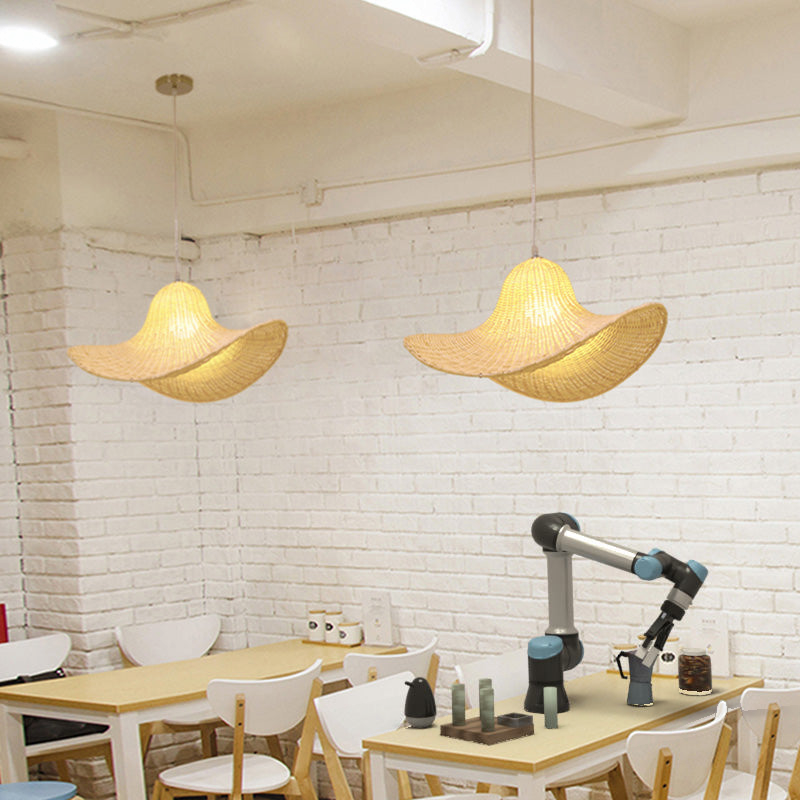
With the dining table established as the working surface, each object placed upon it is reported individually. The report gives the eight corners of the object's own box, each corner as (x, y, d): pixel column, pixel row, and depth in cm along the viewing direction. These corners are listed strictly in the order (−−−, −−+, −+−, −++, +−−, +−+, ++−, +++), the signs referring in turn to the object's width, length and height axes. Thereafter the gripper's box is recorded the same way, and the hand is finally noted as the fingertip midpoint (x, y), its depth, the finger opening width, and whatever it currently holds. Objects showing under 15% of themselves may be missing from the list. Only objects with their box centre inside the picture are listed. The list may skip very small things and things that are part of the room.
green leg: (542, 726, 363) (541, 687, 364) (552, 725, 365) (551, 686, 366) (549, 729, 360) (548, 689, 361) (560, 727, 362) (559, 688, 362)
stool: (440, 735, 355) (439, 685, 356) (485, 724, 368) (484, 676, 369) (488, 745, 340) (487, 692, 341) (534, 734, 354) (532, 683, 355)
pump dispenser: (398, 725, 371) (397, 676, 372) (427, 721, 375) (426, 673, 376) (413, 730, 362) (412, 681, 363) (442, 727, 366) (441, 677, 367)
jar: (719, 693, 412) (718, 650, 413) (696, 697, 406) (694, 653, 407) (695, 688, 422) (693, 646, 423) (671, 692, 416) (670, 649, 417)
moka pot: (666, 705, 392) (664, 645, 394) (624, 709, 388) (622, 648, 390) (653, 700, 401) (651, 641, 403) (612, 703, 397) (610, 644, 399)
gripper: (680, 601, 367) (646, 659, 363) (691, 619, 388) (658, 674, 385) (660, 589, 370) (625, 647, 367) (671, 608, 392) (638, 662, 388)
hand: (642, 661), depth 376 cm, fingers open, 13 cm apart
